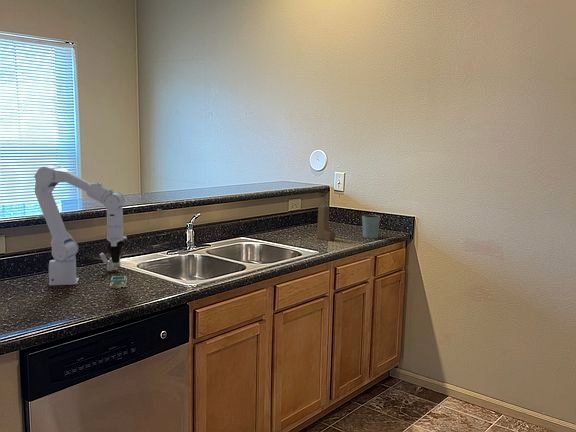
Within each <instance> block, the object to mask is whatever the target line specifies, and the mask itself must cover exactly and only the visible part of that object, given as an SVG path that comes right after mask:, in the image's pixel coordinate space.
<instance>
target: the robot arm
mask: <svg viewBox="0 0 576 432" xmlns="http://www.w3.org/2000/svg"><path fill="white" fill-rule="evenodd" d="M34 179H35V185H34V194H35V197H36V199H37V202H38V204H39V206H40V209H41V212H42V215H43V217H44V219H45V222H46V224H47V227H48V230H49V232H50V236H51V241H50V246H51V256H52V258H53V259H51V260H49V263H48V281H49V282H48V286H67V285H68V286H74V285H75V286H76V285H77V284H78V282H79V280H80V278H79V277H77V257H76V254H77V253H78V251H79V245H78V243H77V242H76V241H75V240H74V237H73V236H72V234H70V233H69V232H68V231H67V228H66V226H65V223H64V221H63V219H62V216H61V213H60V210H59V207H58V206H57V203H56V199H55V198H54V195H53V192H54V189H55V188H56V186H57V185H58V184H59V183H67V184H70V185H72V186H74V187H76V188H78V189H81V190H82V191H84V192H86V195H87V197H89V198H91V199H93V200H94V201H96V202H98V203H100V204H102V205H103V206H104V207H105V209H106V234H107V235H106V240H107V241H108V242H107V243H106V247H107V249H108V251H109V254H110V258H112V262H113V263H118V262H119V258H120V259H121V253H122V247H124V243H125V240H127V239H128V237H127V236H124V212H123V210H124V209H123V205H124V204H125V202H126V201H125V196H124V195H123V194H122V193H121V192H119V191H114V190H113V189H109V188H107V187H105V186H103V184H102V183H101V182H89V181H87V180H85V179H84V178H82V177H80V176H78V175H77V174H75V173H73V172H71V171H70V170H68V169H67V168H65V167H62V166H60V165H57V164H53V165H50V166H42V167H39V168H38V169H37V171H36V173H35V174H34Z"/></svg>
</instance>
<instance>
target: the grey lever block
mask: <svg viewBox="0 0 576 432" xmlns="http://www.w3.org/2000/svg"><path fill="white" fill-rule="evenodd" d="M99 256H100V258H101V260H102V262H103V263H104V264H106V271H107V270H108V271H110V272H112V271H111V270H116V271H118V270H119V267H112V258H111V257H109V259H108V258H107V256H106V255H105V253H104V252H101V253H99ZM108 271H107V272H108Z"/></svg>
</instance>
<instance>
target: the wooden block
mask: <svg viewBox="0 0 576 432" xmlns="http://www.w3.org/2000/svg"><path fill="white" fill-rule="evenodd" d="M317 209H318V211H317V232H316V234H317V235H316V238H317V239H318V240H319V239H320V240H324V241H327V242H328V241H329V242H331V241H334V240H335V238H336V237H335V236H336V232H335V231H334V230H331V229H332V228H330V206H329V205H324V204H322V205H318V206H317Z"/></svg>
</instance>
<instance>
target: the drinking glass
mask: <svg viewBox="0 0 576 432" xmlns="http://www.w3.org/2000/svg"><path fill="white" fill-rule="evenodd" d="M361 219H362V222H361V223H362V238H364V237H365V239H378V238H379V229H380V222H381V216H380V215H378V214H363V215H362V216H361Z"/></svg>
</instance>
